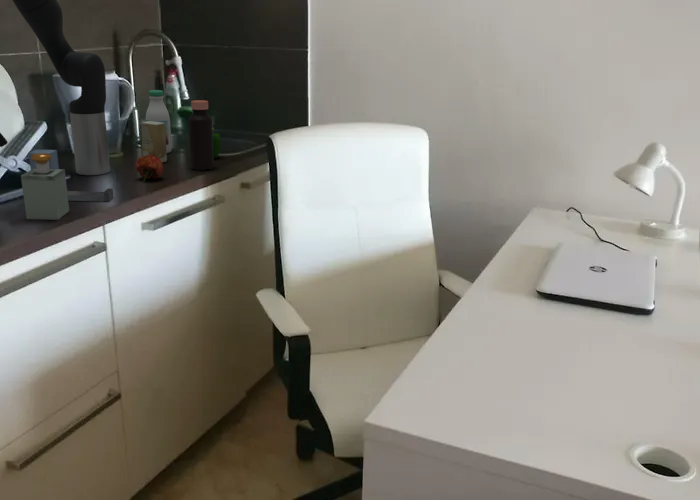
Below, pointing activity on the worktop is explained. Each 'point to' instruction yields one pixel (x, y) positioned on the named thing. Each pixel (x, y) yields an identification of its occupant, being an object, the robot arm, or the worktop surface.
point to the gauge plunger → (42, 162)
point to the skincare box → (154, 139)
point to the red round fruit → (149, 167)
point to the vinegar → (201, 136)
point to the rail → (90, 195)
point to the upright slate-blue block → (52, 163)
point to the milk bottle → (159, 114)
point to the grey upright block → (45, 194)
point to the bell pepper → (216, 144)
